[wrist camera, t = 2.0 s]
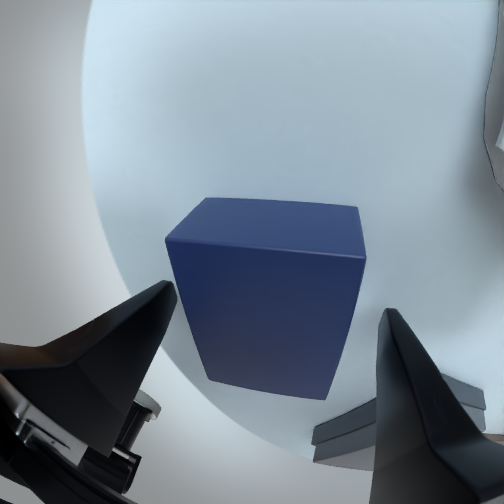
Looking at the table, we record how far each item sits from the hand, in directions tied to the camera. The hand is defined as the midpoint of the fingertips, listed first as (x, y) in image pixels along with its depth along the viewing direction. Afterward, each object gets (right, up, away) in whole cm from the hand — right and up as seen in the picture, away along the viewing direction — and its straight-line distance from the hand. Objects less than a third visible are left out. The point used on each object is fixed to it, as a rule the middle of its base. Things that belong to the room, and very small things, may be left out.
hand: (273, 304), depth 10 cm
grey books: (+9, -10, +5) cm, 14 cm away
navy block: (0, +1, +1) cm, 1 cm away
